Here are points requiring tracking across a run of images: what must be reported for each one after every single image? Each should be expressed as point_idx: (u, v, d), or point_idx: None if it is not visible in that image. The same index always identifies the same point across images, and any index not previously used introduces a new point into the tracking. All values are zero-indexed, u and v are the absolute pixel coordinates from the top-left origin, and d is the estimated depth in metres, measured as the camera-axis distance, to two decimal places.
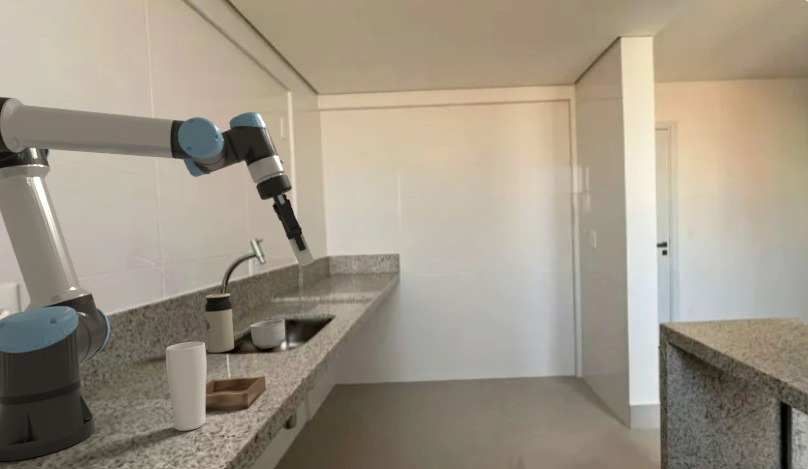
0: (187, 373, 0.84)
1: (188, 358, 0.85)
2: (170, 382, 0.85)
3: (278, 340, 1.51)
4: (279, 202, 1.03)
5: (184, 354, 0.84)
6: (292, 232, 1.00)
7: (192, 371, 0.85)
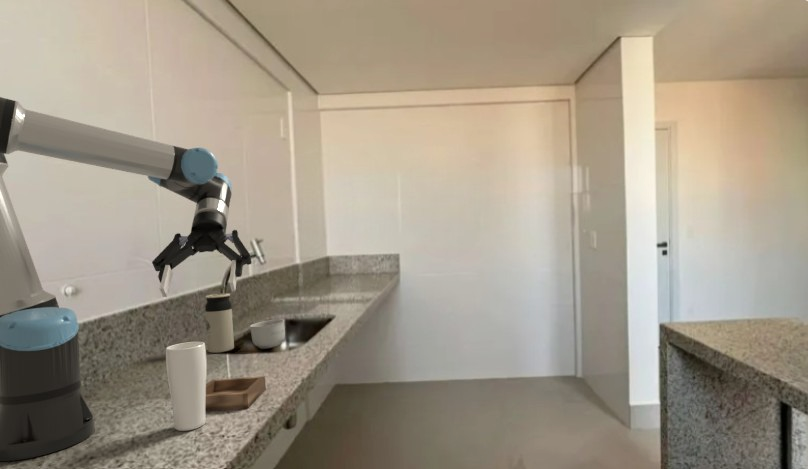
0: (187, 373, 0.84)
1: (188, 358, 0.85)
2: (170, 382, 0.85)
3: (278, 340, 1.51)
4: None
5: (184, 354, 0.84)
6: None
7: (192, 371, 0.85)
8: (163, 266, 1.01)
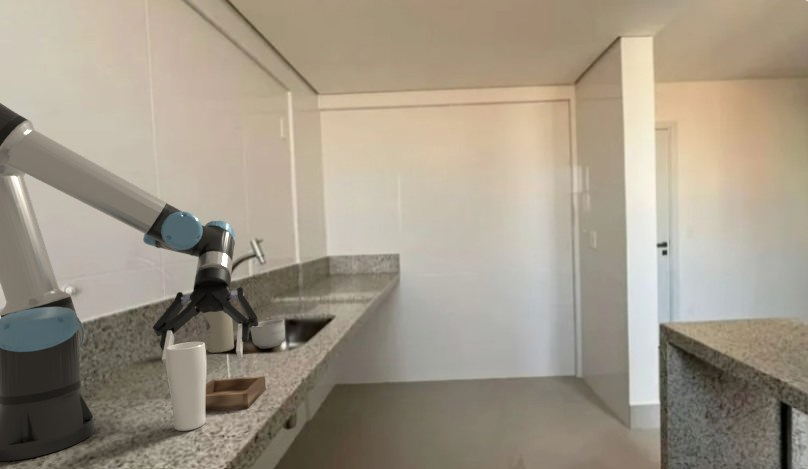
0: (187, 373, 0.84)
1: (188, 358, 0.85)
2: (170, 382, 0.85)
3: (278, 340, 1.51)
4: (243, 293, 1.04)
5: (184, 354, 0.84)
6: (257, 319, 0.99)
7: (192, 371, 0.85)
8: (165, 332, 0.95)
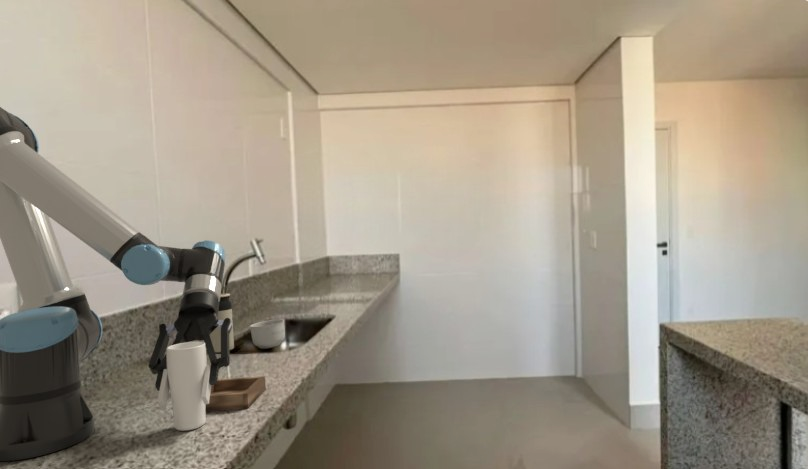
0: (187, 373, 0.84)
1: (189, 358, 0.85)
2: (170, 382, 0.85)
3: (278, 340, 1.51)
4: (228, 326, 0.95)
5: (185, 354, 0.84)
6: (227, 358, 0.90)
7: (192, 371, 0.85)
8: (161, 370, 0.87)
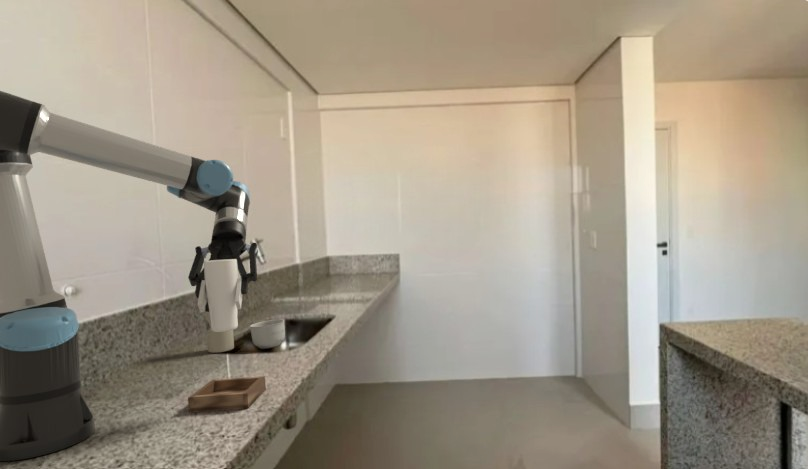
0: (223, 281, 0.98)
1: (224, 268, 0.98)
2: (208, 289, 0.98)
3: (278, 340, 1.51)
4: (255, 249, 1.09)
5: (220, 265, 0.98)
6: (255, 273, 1.04)
7: (227, 280, 0.98)
8: (199, 281, 1.01)
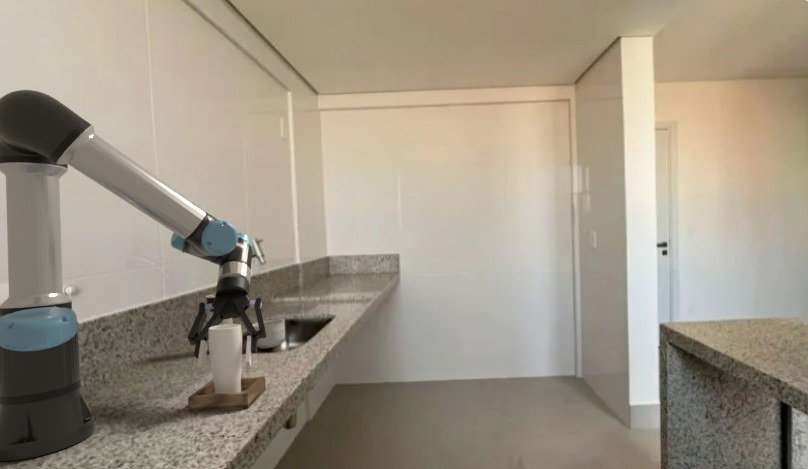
0: (227, 350, 0.98)
1: (228, 336, 0.98)
2: (212, 357, 0.98)
3: (278, 340, 1.51)
4: (260, 304, 1.09)
5: (225, 334, 0.98)
6: (265, 331, 1.04)
7: (231, 348, 0.99)
8: (199, 341, 1.01)
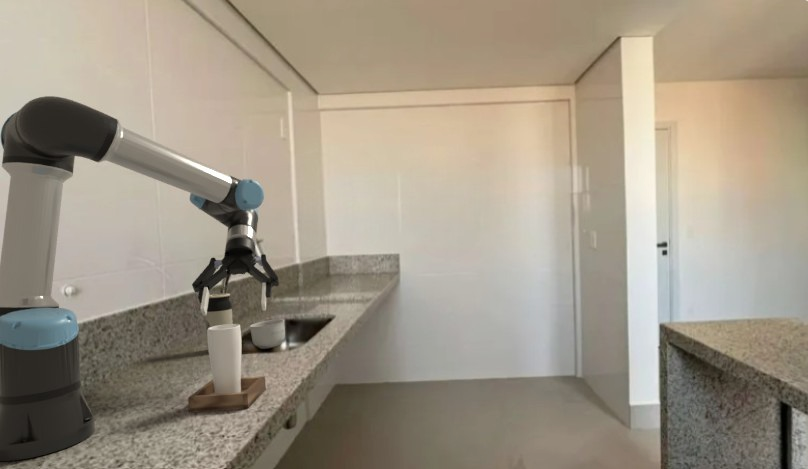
0: (226, 350, 0.98)
1: (227, 337, 0.98)
2: (211, 357, 0.98)
3: (278, 340, 1.51)
4: None
5: (224, 334, 0.98)
6: None
7: (230, 348, 0.99)
8: (202, 288, 1.14)
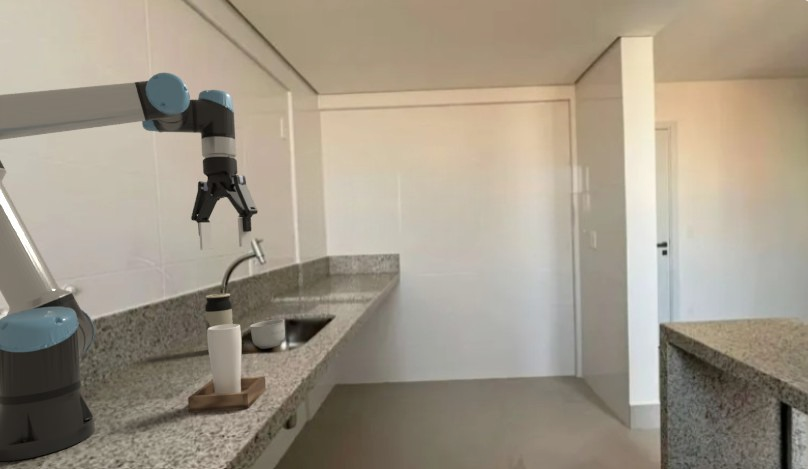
0: (226, 350, 0.98)
1: (227, 337, 0.98)
2: (211, 357, 0.98)
3: (278, 340, 1.51)
4: (239, 181, 1.07)
5: (224, 334, 0.98)
6: (250, 211, 1.05)
7: (230, 348, 0.99)
8: (199, 222, 1.14)
